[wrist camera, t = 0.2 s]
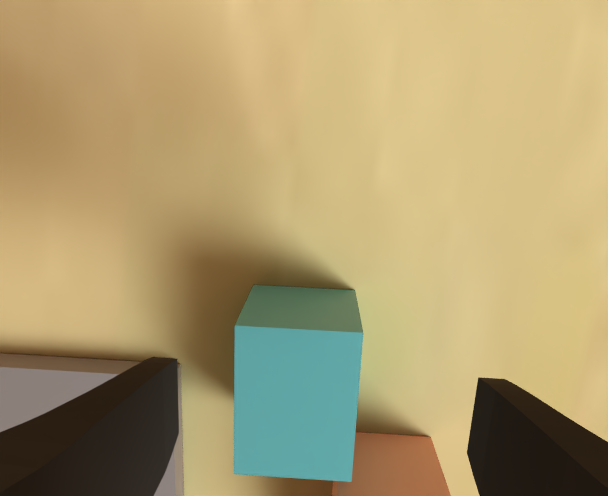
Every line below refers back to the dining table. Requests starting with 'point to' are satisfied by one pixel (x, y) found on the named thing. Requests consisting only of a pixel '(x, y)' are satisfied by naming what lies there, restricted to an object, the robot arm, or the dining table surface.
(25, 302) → the dining table surface
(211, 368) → the dining table surface
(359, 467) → the terracotta brick
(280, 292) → the teal brick
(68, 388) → the baseplate
